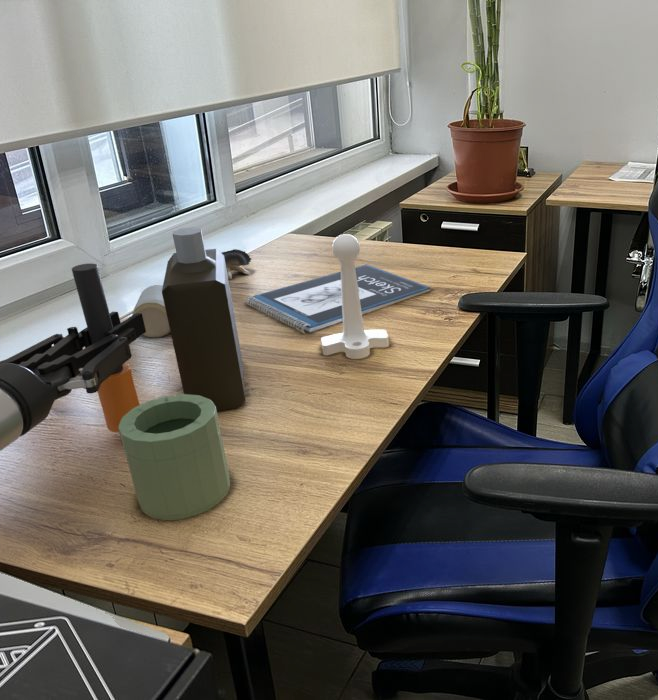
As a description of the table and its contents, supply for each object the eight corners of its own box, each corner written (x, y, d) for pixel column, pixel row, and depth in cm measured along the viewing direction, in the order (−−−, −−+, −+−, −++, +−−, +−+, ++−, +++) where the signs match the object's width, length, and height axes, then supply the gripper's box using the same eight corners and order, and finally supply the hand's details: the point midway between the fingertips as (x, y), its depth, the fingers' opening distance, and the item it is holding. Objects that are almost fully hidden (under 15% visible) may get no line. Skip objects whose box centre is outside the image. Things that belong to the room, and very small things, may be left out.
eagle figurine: (214, 282, 148) (255, 268, 151) (200, 252, 148) (242, 237, 151) (215, 291, 155) (255, 276, 158) (202, 261, 155) (241, 248, 158)
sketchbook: (431, 293, 144) (430, 284, 144) (305, 337, 125) (304, 327, 125) (366, 269, 158) (365, 260, 157) (244, 305, 139) (243, 295, 138)
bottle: (243, 363, 116) (217, 214, 105) (246, 410, 102) (217, 244, 92) (191, 371, 114) (160, 219, 103) (188, 420, 100) (151, 251, 89)
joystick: (385, 338, 124) (377, 227, 116) (393, 356, 118) (385, 240, 109) (321, 346, 122) (308, 234, 113) (325, 365, 115) (312, 247, 106)
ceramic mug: (134, 342, 124) (125, 301, 121) (144, 324, 132) (136, 285, 128) (197, 337, 126) (190, 297, 123) (203, 319, 134) (197, 281, 130)
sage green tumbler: (122, 518, 81) (98, 436, 76) (170, 466, 90) (152, 391, 85) (204, 527, 79) (185, 444, 75) (245, 474, 88) (231, 397, 84)
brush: (100, 430, 93) (55, 272, 83) (120, 414, 97) (80, 260, 87) (130, 433, 92) (88, 273, 83) (149, 416, 96) (112, 261, 87)
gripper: (-60, 435, 76) (83, 343, 97) (71, 446, 74) (189, 350, 94) (-85, 373, 73) (69, 292, 94) (52, 383, 70) (178, 298, 91)
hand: (129, 321), depth 94 cm, fingers closed on brush, 3 cm apart
